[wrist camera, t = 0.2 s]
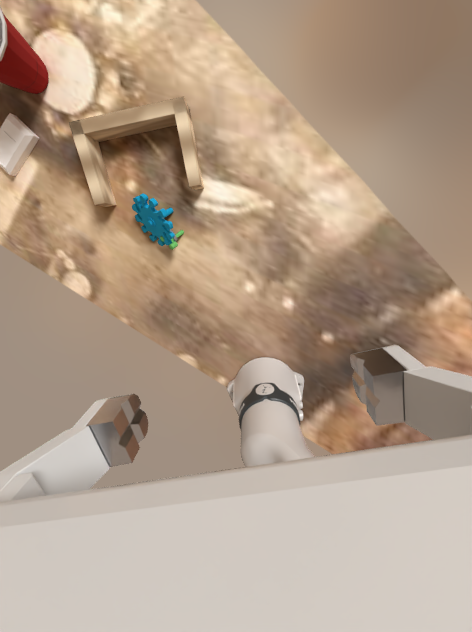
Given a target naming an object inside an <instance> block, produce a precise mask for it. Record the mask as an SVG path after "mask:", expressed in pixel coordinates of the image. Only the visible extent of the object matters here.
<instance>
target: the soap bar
mask: <svg viewBox="0 0 472 632" xmlns="http://www.w3.org/2000/svg"><path fill="white" fill-rule="evenodd" d="M38 140H39V137H38V136H37V135H36V134H35V133H34V132H32V131H31V130H30V129H29V128H28V127H27V126H26V125H25V124H24V123H23V122H22V121H21V120H20V119H19V118H18V117H17V116H15V115H13V114H11V113H9V115H8V116H7V117H6V119H5V121H4V123H3V124H2V126H1V128H0V167H1V168H2V169H4V170H5V171H6V172H7V173H8V174H9V175H12V176H16V175H17V173H18V172H19V170H20V169H21V167H22V165H23V164H24V162H25V161H26V159H27V157H28V156H29V154H30V153H31V151H32V150H33V148H34V146H35V145H36V143H37V142H38Z"/></svg>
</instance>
